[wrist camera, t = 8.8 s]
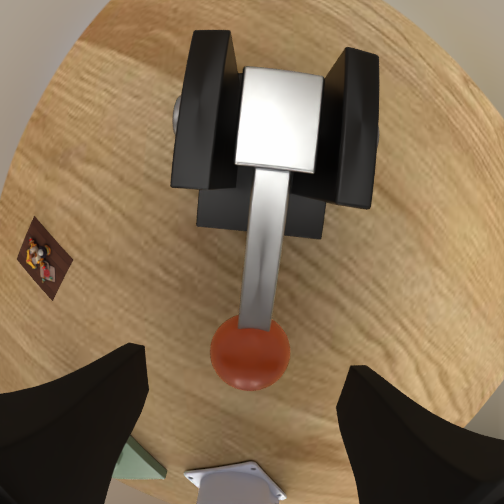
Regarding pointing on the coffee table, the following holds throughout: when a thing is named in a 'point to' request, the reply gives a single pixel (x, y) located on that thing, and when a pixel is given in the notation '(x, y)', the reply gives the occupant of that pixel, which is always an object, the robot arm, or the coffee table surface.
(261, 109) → the lever
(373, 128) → the bracket
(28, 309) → the coffee table surface
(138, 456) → the control block
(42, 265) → the diorama
